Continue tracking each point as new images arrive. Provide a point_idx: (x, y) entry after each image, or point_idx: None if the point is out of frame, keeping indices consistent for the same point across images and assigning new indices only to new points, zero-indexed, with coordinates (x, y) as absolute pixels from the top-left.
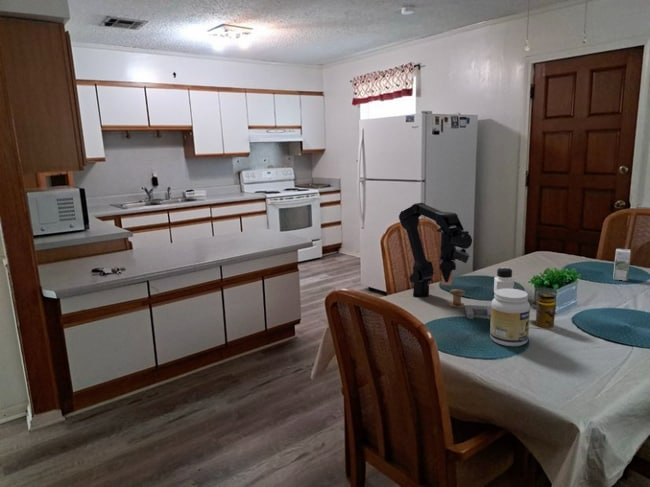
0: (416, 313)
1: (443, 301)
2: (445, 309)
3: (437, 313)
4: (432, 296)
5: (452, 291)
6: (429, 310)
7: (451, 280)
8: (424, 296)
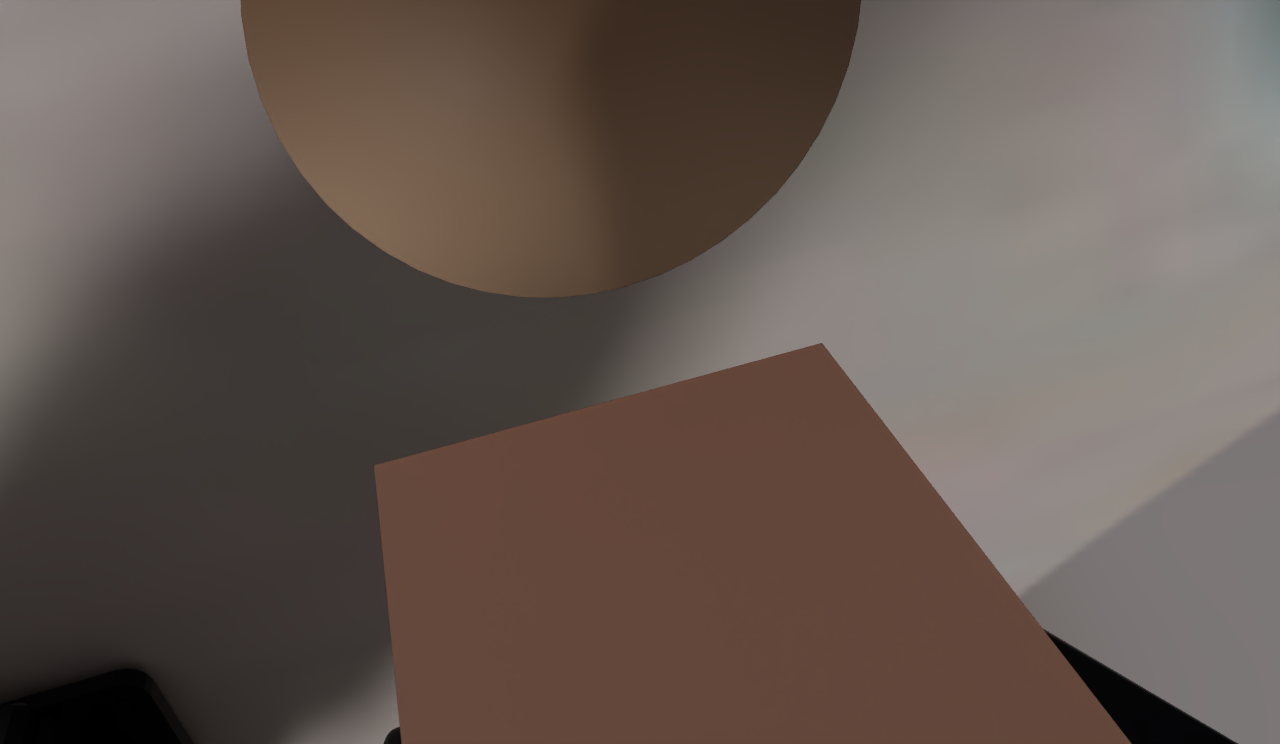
0: (1103, 522)
1: (264, 300)
2: None
3: (1081, 221)
4: (16, 602)
5: (655, 188)
6: (937, 394)
7: (925, 494)
8: (173, 716)
